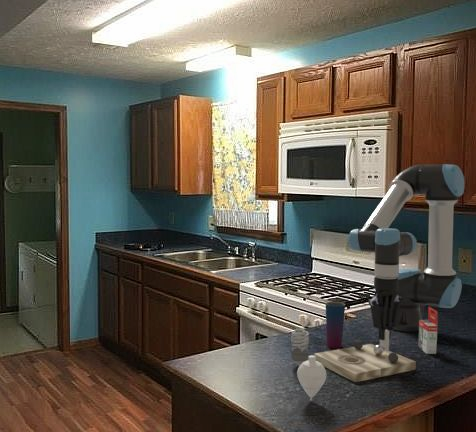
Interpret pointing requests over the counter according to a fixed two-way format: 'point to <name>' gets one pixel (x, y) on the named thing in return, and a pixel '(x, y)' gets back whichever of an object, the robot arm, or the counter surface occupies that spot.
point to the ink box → (428, 332)
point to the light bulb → (298, 352)
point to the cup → (334, 323)
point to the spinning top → (311, 376)
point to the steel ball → (378, 350)
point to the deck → (363, 363)
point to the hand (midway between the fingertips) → (384, 349)
